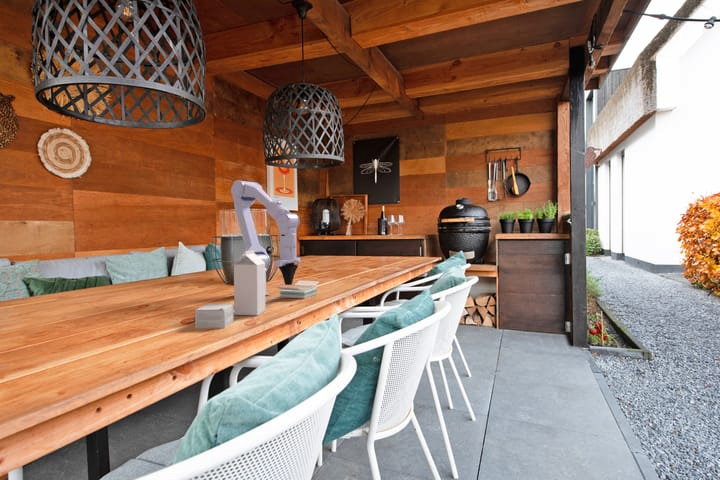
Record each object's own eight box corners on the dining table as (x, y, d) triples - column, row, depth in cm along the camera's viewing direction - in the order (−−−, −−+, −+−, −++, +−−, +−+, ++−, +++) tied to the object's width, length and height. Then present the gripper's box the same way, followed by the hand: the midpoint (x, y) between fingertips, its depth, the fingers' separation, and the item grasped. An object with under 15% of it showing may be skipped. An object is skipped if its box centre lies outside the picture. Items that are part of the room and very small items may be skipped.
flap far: (315, 286, 154) (319, 281, 157) (294, 284, 157) (298, 280, 160) (315, 286, 154) (319, 282, 158) (294, 285, 157) (299, 281, 161)
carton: (304, 298, 144) (304, 291, 144) (279, 297, 148) (279, 290, 148) (316, 294, 154) (316, 287, 154) (293, 292, 157) (293, 286, 157)
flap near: (281, 288, 148) (276, 286, 144) (303, 289, 145) (298, 287, 141) (281, 289, 148) (275, 287, 144) (303, 290, 145) (298, 288, 141)
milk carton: (265, 310, 124) (265, 249, 123) (257, 316, 117) (256, 251, 116) (243, 310, 125) (242, 249, 124) (234, 315, 118) (233, 251, 117)
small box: (205, 321, 111) (205, 303, 110) (234, 321, 111) (234, 303, 110) (194, 329, 103) (194, 309, 103) (224, 329, 103) (224, 309, 103)
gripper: (287, 248, 135) (288, 288, 136) (307, 246, 149) (307, 282, 149) (269, 247, 137) (270, 287, 138) (290, 245, 151) (291, 281, 152)
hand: (288, 284), depth 144 cm, fingers closed
